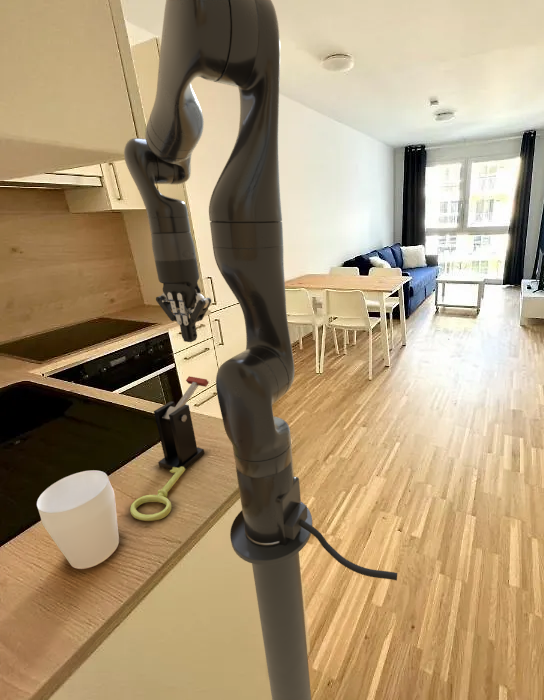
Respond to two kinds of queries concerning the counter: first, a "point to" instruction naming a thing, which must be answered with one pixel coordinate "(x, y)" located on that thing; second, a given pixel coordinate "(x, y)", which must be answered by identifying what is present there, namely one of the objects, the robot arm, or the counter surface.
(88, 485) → the cup
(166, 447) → the bracket
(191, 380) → the lever
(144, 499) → the key
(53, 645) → the counter surface
